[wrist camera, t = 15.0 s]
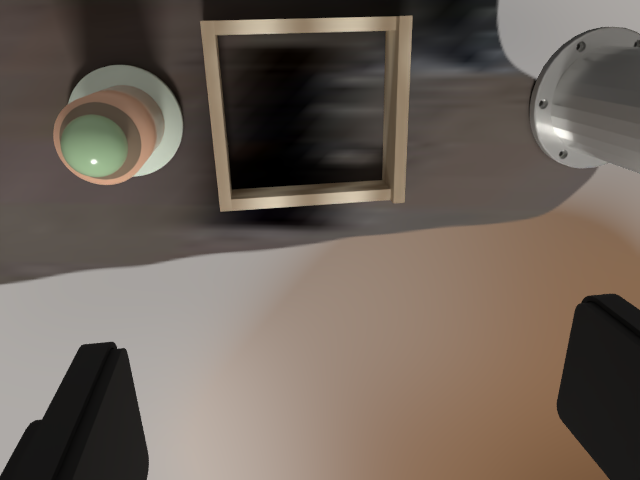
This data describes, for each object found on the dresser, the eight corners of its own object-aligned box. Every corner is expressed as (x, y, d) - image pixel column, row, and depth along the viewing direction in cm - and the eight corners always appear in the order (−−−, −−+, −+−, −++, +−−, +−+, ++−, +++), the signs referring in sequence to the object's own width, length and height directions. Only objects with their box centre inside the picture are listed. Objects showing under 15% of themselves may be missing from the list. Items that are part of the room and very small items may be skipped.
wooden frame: (397, 17, 42) (412, 15, 38) (392, 189, 48) (404, 202, 44) (203, 21, 40) (199, 20, 36) (221, 200, 46) (220, 215, 42)
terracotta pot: (159, 84, 40) (129, 100, 30) (168, 157, 43) (143, 197, 32) (81, 85, 40) (22, 103, 29) (95, 160, 42) (44, 201, 31)
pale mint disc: (176, 62, 41) (174, 63, 40) (189, 170, 44) (188, 173, 44) (59, 66, 40) (55, 67, 39) (83, 176, 43) (79, 179, 42)
